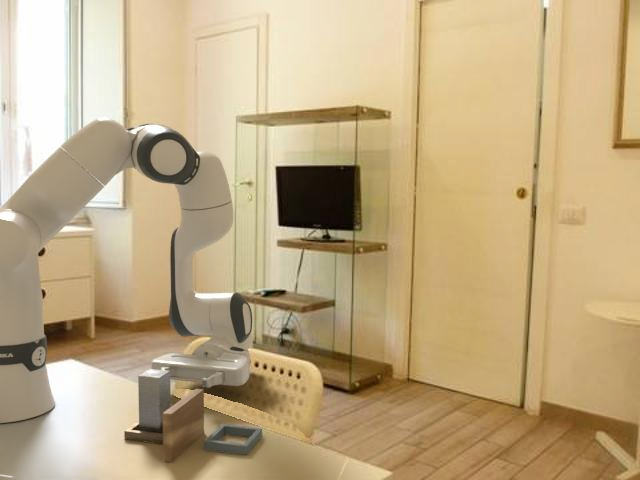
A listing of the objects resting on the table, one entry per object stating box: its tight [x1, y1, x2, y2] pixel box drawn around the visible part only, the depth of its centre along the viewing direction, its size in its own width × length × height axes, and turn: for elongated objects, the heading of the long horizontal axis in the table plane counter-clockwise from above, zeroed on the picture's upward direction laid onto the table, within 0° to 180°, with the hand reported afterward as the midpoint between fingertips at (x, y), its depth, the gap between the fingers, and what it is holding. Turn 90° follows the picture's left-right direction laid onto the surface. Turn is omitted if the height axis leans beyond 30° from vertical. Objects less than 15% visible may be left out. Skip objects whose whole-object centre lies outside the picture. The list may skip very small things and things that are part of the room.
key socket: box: [123, 420, 163, 445], centre depth 109 cm, size 8×8×2 cm
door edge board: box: [162, 388, 205, 463], centre depth 104 cm, size 2×12×8 cm, turn 166°
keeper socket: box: [203, 423, 263, 456], centre depth 106 cm, size 8×8×2 cm
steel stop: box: [137, 368, 172, 434], centre depth 109 cm, size 4×4×11 cm
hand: (183, 381), depth 120 cm, fingers open, 8 cm apart
